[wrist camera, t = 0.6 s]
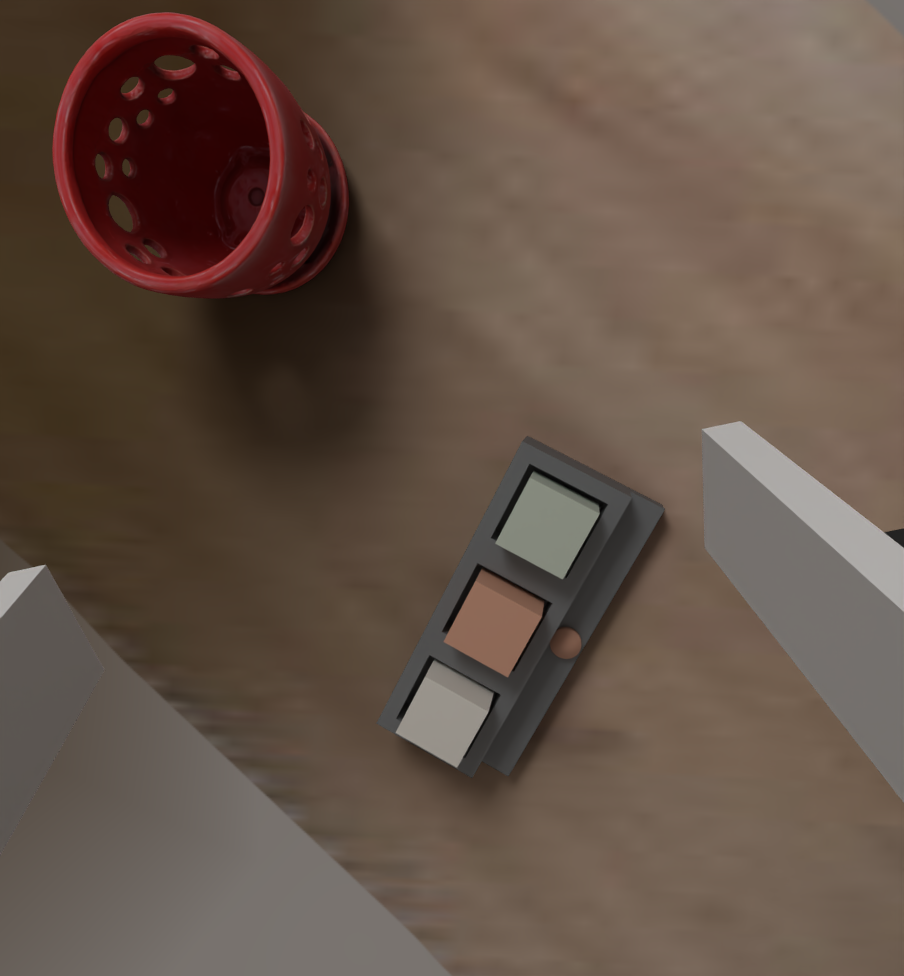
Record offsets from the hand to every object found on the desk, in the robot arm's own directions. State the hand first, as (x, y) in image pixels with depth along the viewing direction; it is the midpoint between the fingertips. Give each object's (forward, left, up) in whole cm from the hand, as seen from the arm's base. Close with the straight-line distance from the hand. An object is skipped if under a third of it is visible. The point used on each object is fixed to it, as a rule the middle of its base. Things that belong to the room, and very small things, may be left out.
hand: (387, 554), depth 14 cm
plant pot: (+22, -5, -31) cm, 38 cm away
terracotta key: (-4, +11, -28) cm, 31 cm away
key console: (-5, +11, -31) cm, 33 cm away
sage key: (-4, +4, -28) cm, 29 cm away
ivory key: (-4, +18, -28) cm, 34 cm away
